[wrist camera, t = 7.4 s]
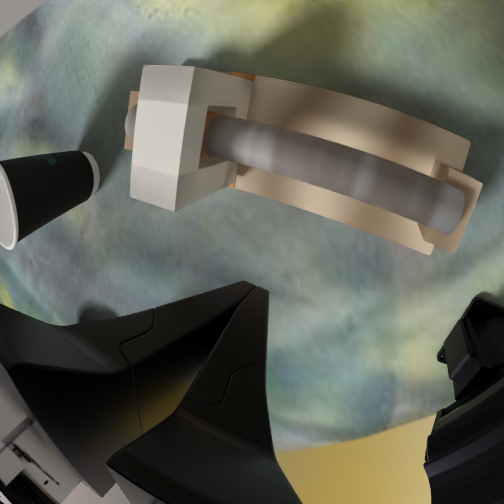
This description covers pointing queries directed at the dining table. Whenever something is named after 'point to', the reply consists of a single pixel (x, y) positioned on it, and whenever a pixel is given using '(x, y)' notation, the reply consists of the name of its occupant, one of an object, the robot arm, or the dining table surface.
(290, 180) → the pipe rig
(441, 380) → the dining table surface
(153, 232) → the dining table surface
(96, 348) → the robot arm
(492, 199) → the dining table surface
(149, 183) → the collar
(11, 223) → the dixie cup
